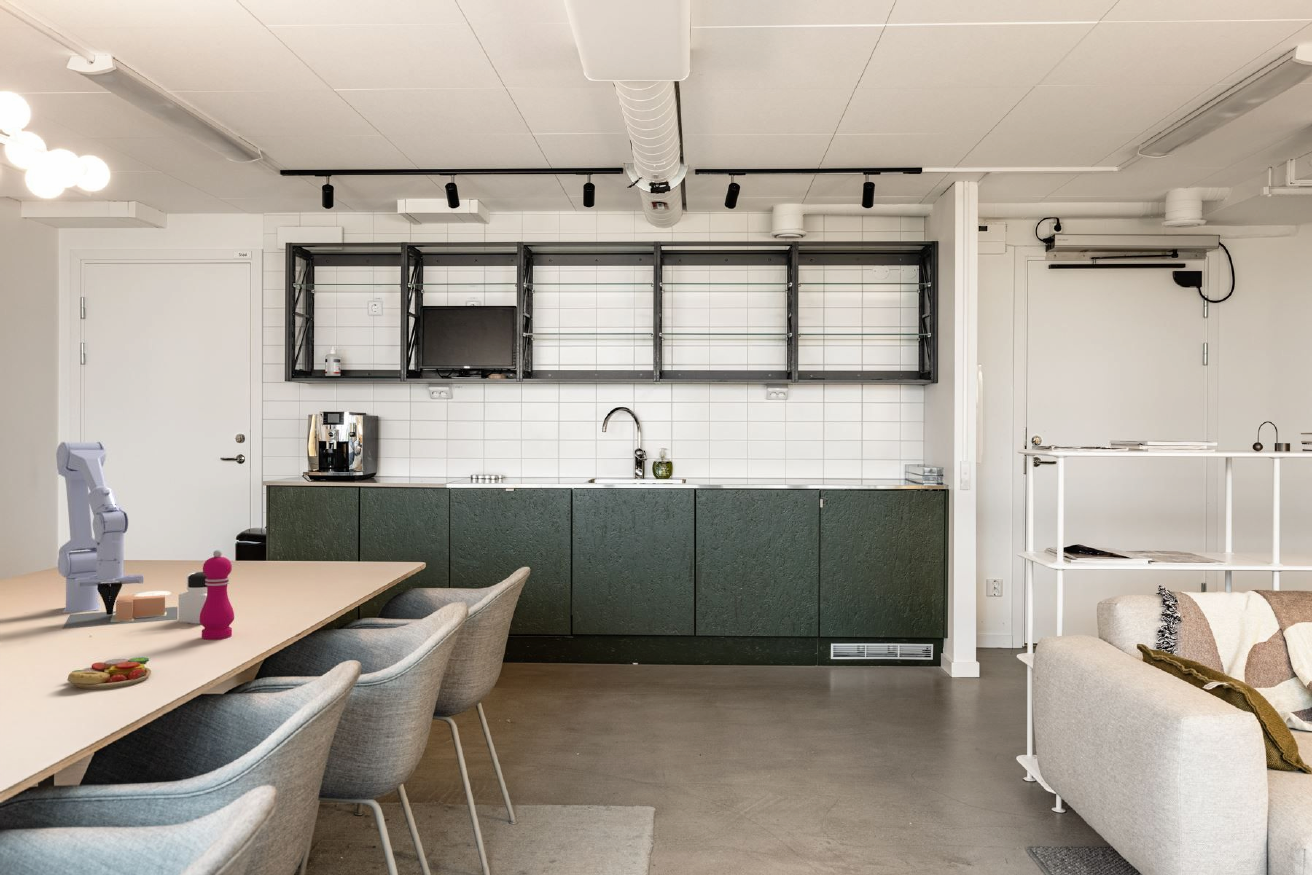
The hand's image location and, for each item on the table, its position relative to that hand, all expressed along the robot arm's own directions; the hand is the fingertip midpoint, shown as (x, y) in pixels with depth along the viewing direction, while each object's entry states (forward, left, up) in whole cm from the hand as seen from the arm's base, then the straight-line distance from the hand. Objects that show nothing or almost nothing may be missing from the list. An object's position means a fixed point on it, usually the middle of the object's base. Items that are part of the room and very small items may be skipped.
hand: (109, 613), depth 222 cm
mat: (0, +3, -1) cm, 3 cm away
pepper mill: (+32, +23, -2) cm, 39 cm away
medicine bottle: (+11, +20, -2) cm, 23 cm away
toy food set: (+63, +4, -2) cm, 63 cm away
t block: (0, +7, -1) cm, 7 cm away
